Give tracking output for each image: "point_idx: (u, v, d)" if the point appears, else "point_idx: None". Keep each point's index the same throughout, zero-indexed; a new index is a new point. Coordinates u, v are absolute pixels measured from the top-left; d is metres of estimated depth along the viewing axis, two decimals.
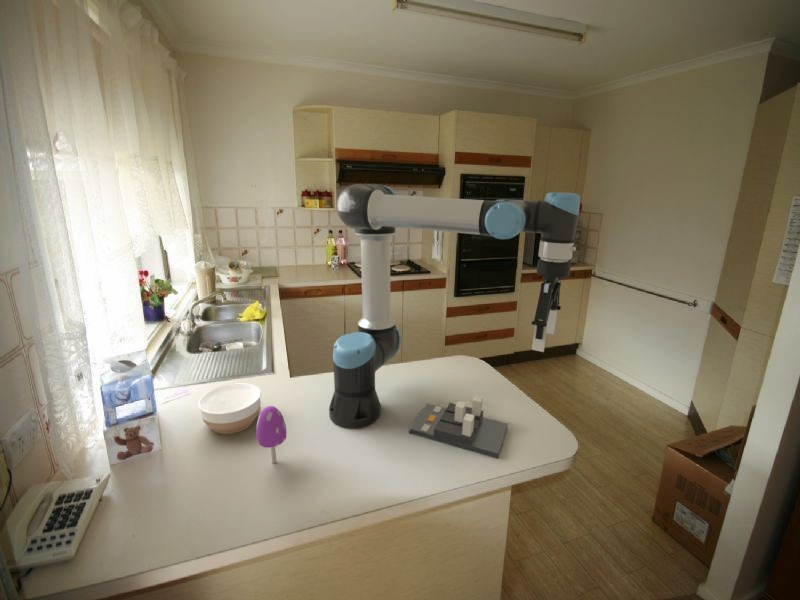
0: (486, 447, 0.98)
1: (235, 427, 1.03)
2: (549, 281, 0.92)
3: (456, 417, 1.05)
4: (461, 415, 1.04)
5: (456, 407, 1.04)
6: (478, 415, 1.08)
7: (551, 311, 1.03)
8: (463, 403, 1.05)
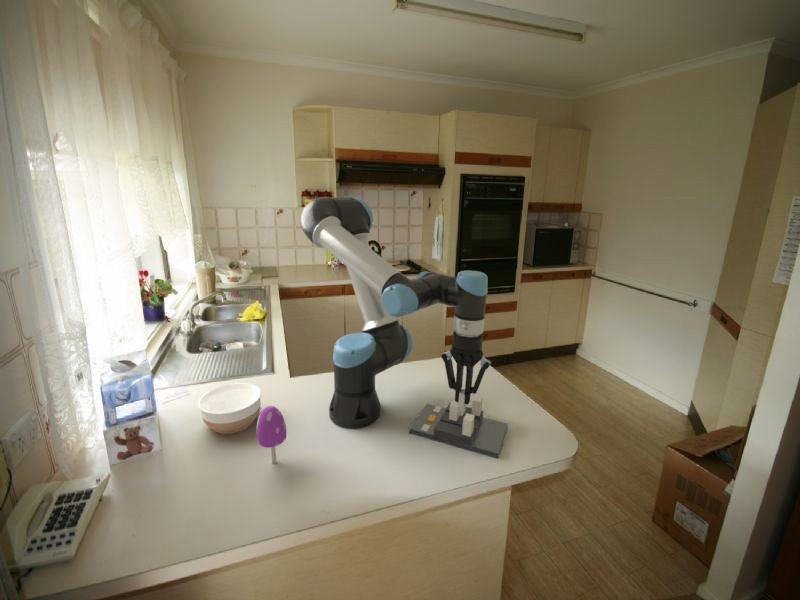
0: (486, 447, 0.98)
1: (235, 427, 1.03)
2: None
3: (451, 416, 1.05)
4: (456, 414, 1.05)
5: (451, 406, 1.05)
6: (478, 415, 1.08)
7: None
8: None
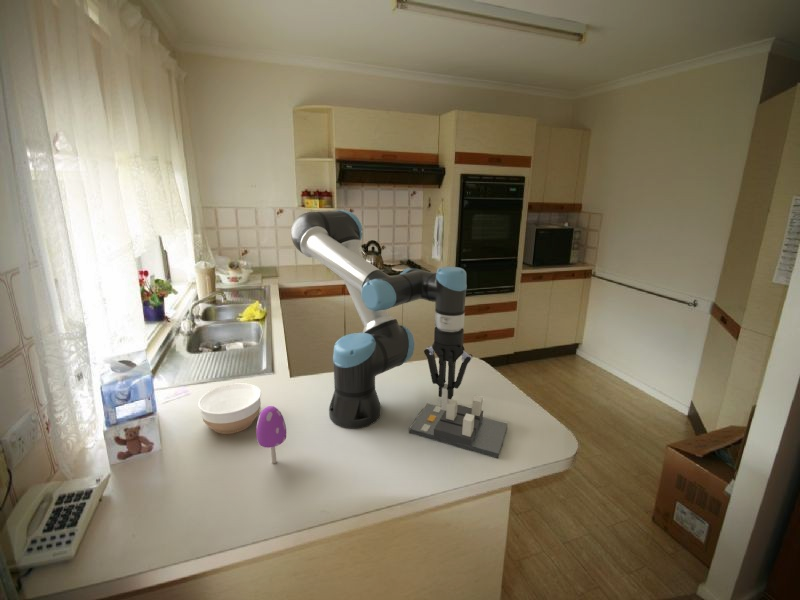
0: (486, 447, 0.98)
1: (235, 427, 1.03)
2: None
3: (448, 415, 1.06)
4: (452, 413, 1.05)
5: (447, 405, 1.05)
6: (478, 415, 1.08)
7: None
8: (455, 401, 1.06)
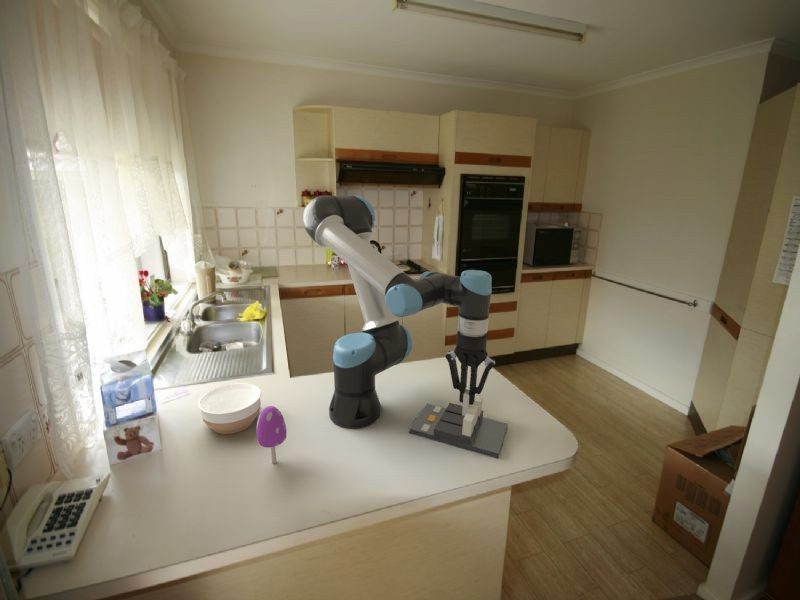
0: (486, 447, 0.98)
1: (235, 427, 1.03)
2: None
3: None
4: (474, 418, 1.03)
5: (469, 410, 1.03)
6: (478, 415, 1.08)
7: None
8: (475, 406, 1.04)
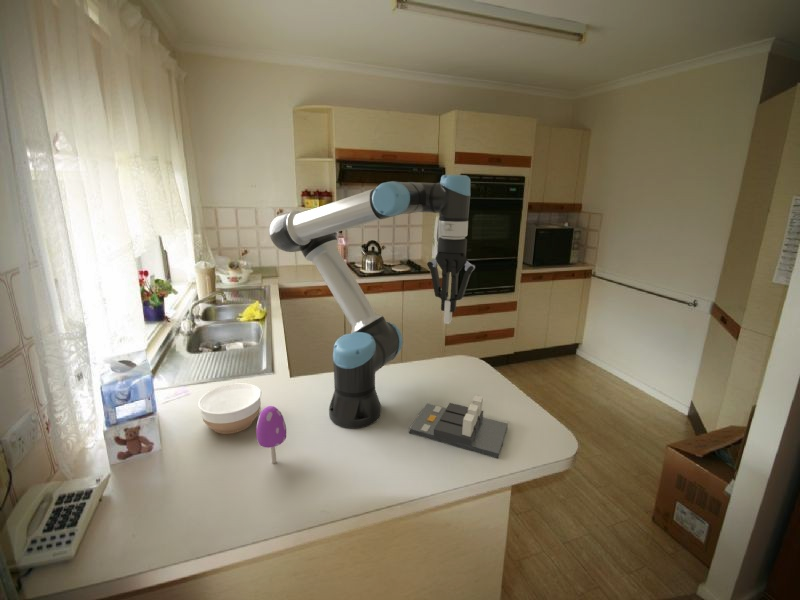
0: (486, 447, 0.98)
1: (235, 427, 1.03)
2: None
3: None
4: (474, 418, 1.03)
5: (469, 410, 1.03)
6: (478, 415, 1.08)
7: None
8: (475, 406, 1.04)
